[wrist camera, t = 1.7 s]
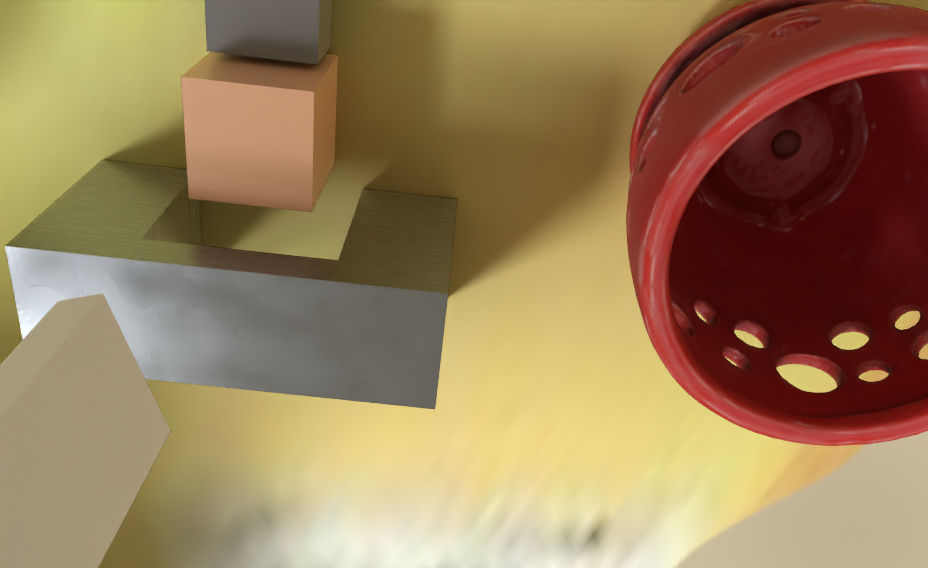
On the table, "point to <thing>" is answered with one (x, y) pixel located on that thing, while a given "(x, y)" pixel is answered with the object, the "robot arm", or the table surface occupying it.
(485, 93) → the table surface
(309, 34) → the bar
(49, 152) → the table surface
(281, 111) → the tan block
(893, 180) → the plant pot
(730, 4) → the table surface
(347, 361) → the block
